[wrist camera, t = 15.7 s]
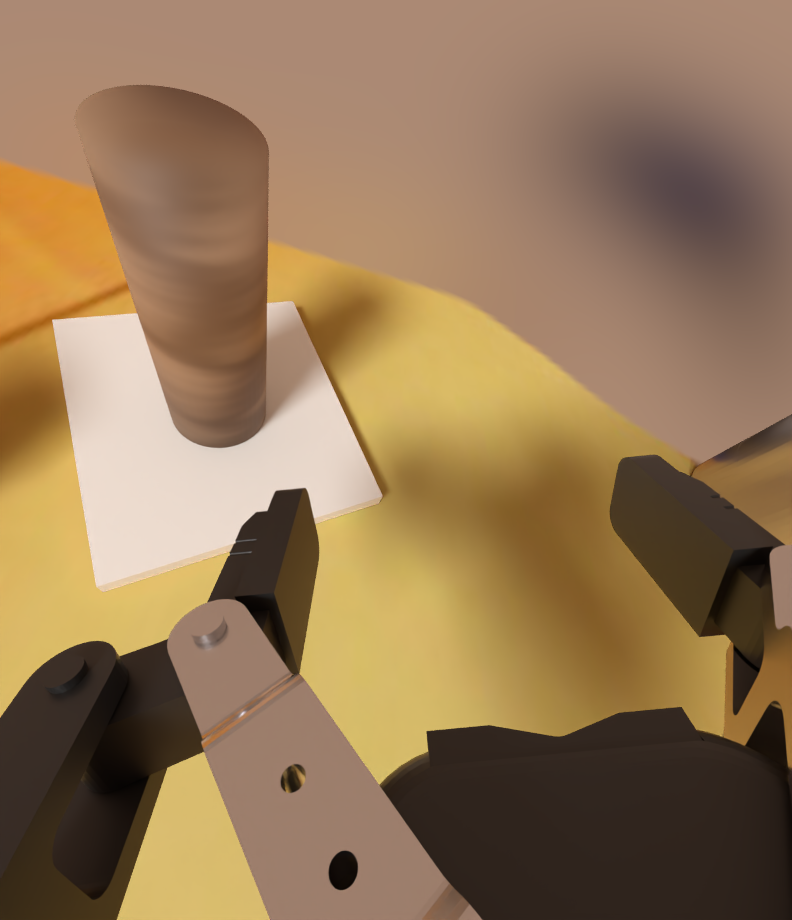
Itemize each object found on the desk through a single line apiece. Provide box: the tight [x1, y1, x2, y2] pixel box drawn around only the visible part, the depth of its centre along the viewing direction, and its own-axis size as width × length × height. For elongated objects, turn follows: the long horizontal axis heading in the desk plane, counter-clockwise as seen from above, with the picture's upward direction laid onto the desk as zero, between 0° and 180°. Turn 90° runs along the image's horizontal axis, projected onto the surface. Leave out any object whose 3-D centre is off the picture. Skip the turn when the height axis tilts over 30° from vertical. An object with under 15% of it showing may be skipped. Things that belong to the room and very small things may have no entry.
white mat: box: [52, 301, 383, 592], centre depth 24 cm, size 14×16×1 cm
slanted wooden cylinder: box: [75, 85, 269, 448], centre depth 18 cm, size 5×5×14 cm
